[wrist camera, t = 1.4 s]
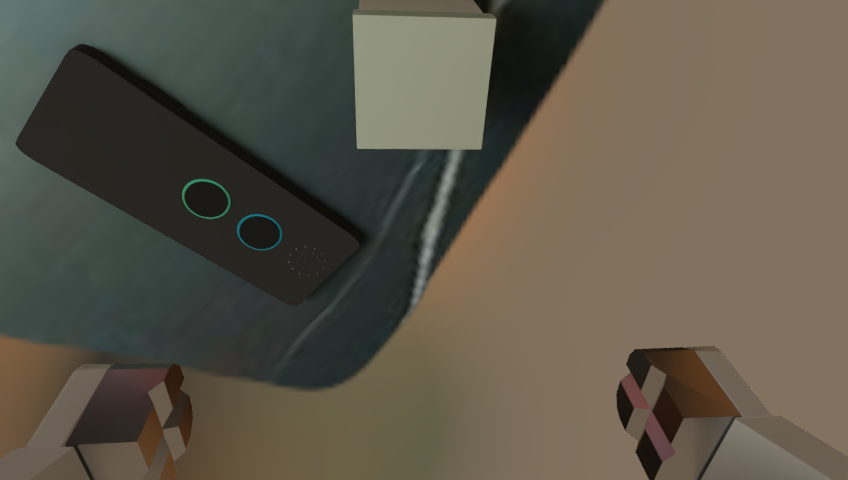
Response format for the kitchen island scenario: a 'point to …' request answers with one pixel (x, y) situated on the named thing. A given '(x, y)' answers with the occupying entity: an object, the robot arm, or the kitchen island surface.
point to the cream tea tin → (421, 73)
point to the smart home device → (182, 177)
